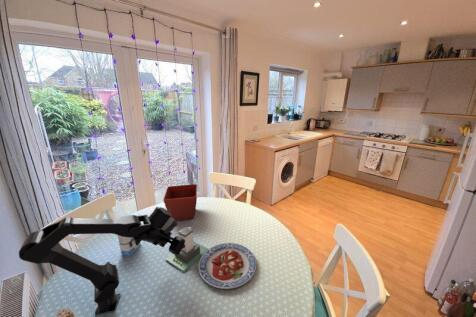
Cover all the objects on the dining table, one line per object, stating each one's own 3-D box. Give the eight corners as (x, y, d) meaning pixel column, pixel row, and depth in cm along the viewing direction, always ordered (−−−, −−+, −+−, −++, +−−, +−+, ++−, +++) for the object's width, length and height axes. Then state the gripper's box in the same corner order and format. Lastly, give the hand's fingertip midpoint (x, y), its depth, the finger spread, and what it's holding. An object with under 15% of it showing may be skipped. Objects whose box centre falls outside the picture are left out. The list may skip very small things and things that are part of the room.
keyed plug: (187, 258, 96) (185, 235, 92) (180, 254, 98) (178, 231, 94) (195, 251, 100) (193, 229, 96) (189, 248, 102) (187, 225, 98)
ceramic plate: (194, 254, 100) (194, 249, 99) (243, 241, 109) (243, 236, 108) (205, 301, 77) (205, 295, 76) (266, 280, 86) (266, 275, 85)
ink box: (129, 256, 99) (125, 235, 95) (121, 254, 100) (116, 234, 96) (141, 244, 107) (138, 224, 103) (133, 242, 108) (129, 223, 104)
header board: (183, 272, 89) (182, 264, 88) (165, 260, 96) (164, 252, 94) (208, 250, 102) (207, 242, 101) (191, 241, 108) (190, 234, 107)
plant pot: (170, 208, 140) (167, 186, 135) (198, 205, 143) (197, 183, 138) (166, 225, 122) (162, 199, 117) (198, 221, 125) (196, 196, 120)
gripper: (179, 223, 78) (201, 232, 90) (150, 208, 88) (173, 218, 100) (164, 252, 74) (189, 258, 86) (135, 234, 84) (160, 241, 96)
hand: (177, 242), depth 92 cm, fingers open, 9 cm apart
